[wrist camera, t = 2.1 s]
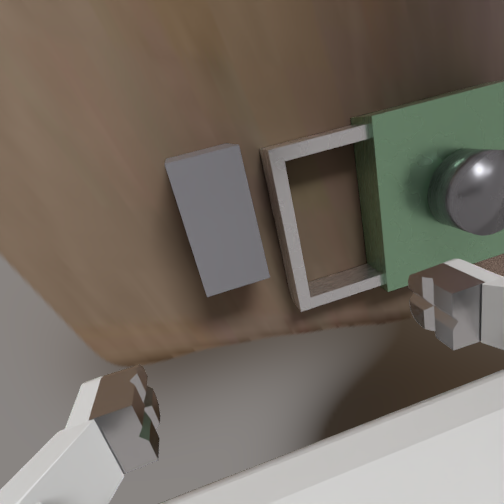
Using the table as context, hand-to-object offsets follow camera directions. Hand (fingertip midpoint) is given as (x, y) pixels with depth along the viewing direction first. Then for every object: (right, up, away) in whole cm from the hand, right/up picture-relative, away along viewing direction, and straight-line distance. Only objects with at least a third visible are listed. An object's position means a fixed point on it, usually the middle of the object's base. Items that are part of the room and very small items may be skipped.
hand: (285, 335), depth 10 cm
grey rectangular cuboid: (-4, +6, +16) cm, 18 cm away
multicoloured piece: (+10, +7, +19) cm, 23 cm away
